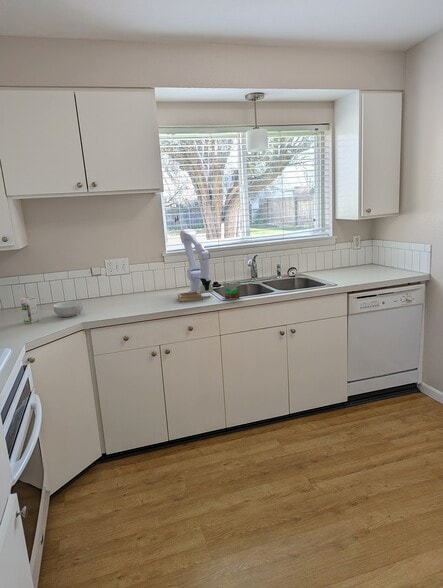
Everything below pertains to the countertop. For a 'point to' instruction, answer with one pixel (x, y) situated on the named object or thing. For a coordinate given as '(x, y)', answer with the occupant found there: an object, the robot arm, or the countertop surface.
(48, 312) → the countertop surface
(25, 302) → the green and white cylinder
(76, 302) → the cereal bowl
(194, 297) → the box
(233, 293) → the food container
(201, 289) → the sage crate
